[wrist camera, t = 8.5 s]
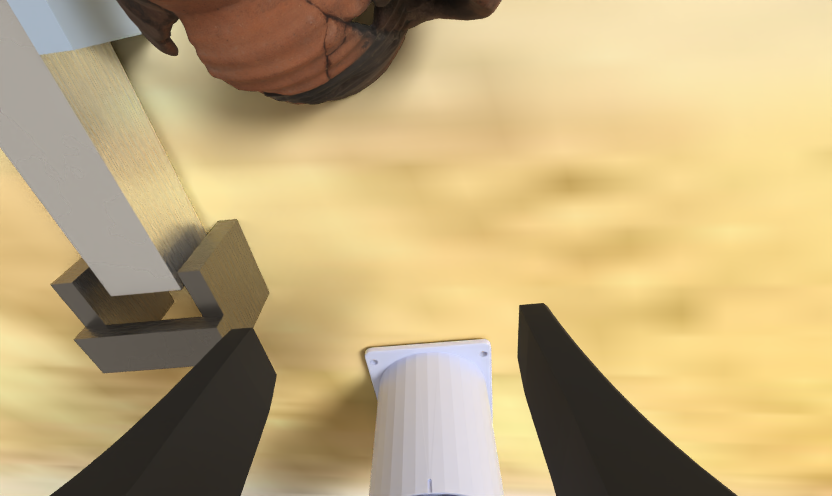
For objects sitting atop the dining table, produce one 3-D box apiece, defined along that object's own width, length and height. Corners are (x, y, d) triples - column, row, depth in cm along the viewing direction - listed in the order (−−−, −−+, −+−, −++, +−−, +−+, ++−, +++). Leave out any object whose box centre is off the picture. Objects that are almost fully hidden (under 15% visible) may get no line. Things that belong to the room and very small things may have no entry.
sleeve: (269, 293, 23) (237, 362, 19) (158, 302, 24) (103, 373, 19) (236, 219, 20) (190, 282, 16) (111, 232, 21) (35, 297, 17)
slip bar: (213, 247, 21) (181, 289, 18) (151, 253, 21) (110, 296, 18) (70, -38, 14) (-18, -40, 11) (-19, -24, 14) (-126, -22, 11)
